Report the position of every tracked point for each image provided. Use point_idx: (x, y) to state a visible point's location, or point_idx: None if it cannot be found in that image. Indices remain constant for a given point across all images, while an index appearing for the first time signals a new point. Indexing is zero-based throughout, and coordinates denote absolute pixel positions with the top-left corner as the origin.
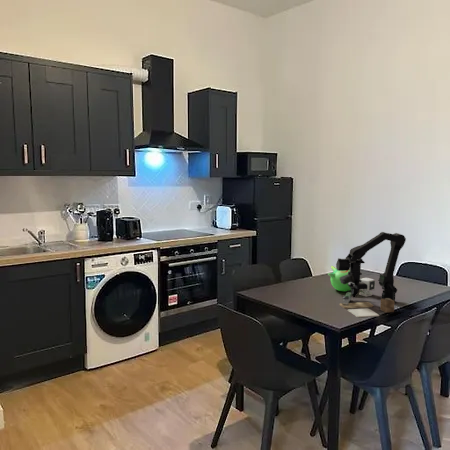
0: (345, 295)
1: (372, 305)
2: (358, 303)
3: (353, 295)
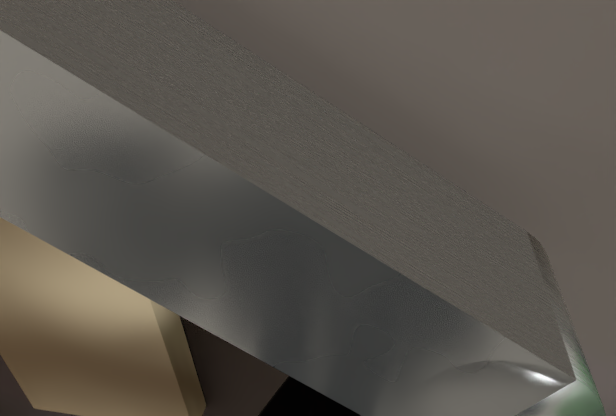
0: (88, 100)
1: (30, 395)
2: (79, 269)
3: (276, 393)
